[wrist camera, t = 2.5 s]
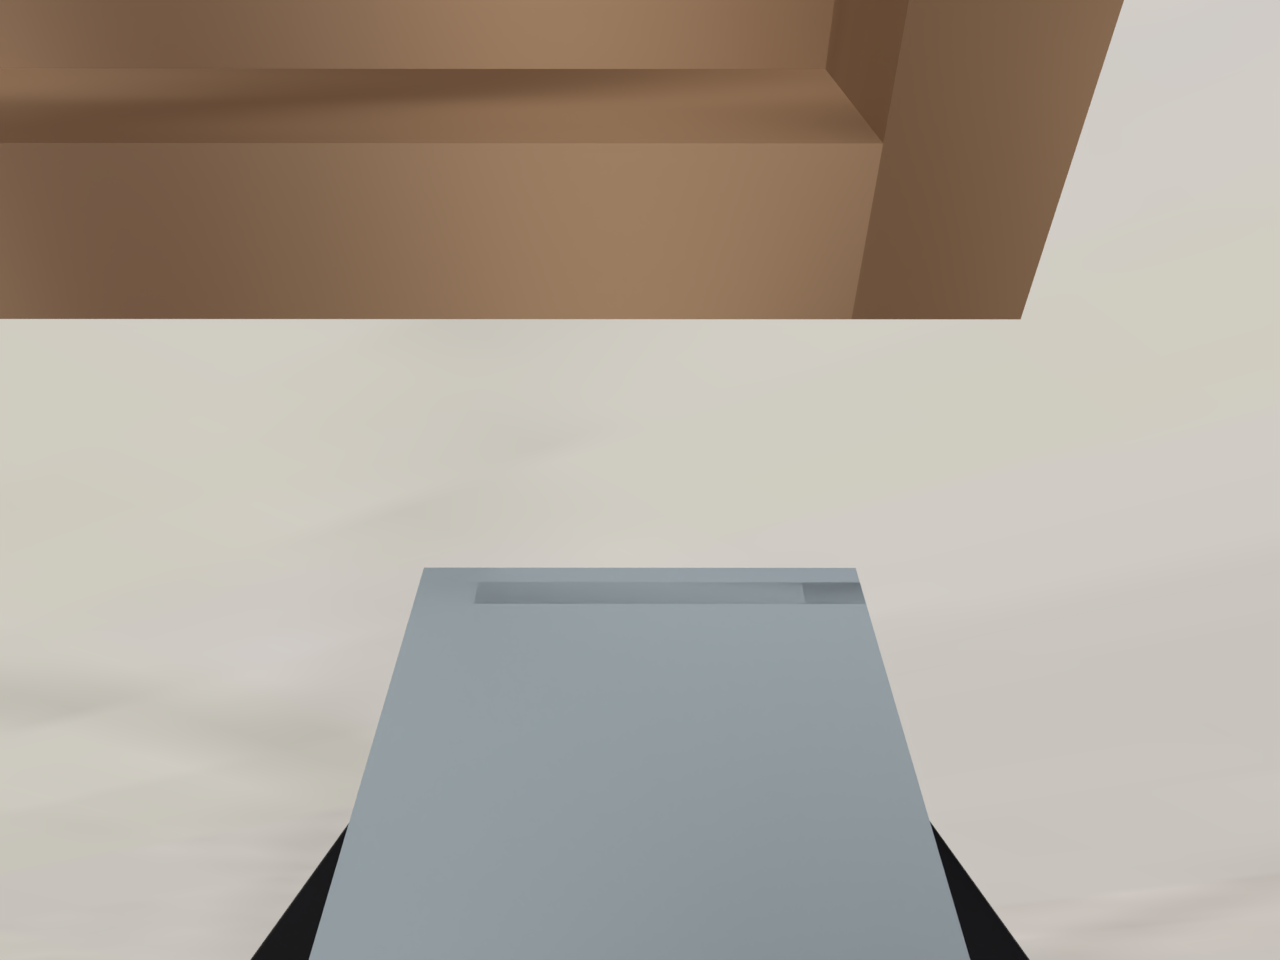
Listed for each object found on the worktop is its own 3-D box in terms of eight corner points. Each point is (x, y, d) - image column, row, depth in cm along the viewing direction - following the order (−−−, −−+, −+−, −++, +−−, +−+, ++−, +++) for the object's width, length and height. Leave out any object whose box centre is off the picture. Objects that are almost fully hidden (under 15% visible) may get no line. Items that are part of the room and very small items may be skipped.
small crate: (854, 561, 11) (1002, 1071, 7) (788, 847, 16) (847, 1254, 12) (425, 561, 11) (275, 1071, 7) (490, 846, 16) (430, 1253, 12)
